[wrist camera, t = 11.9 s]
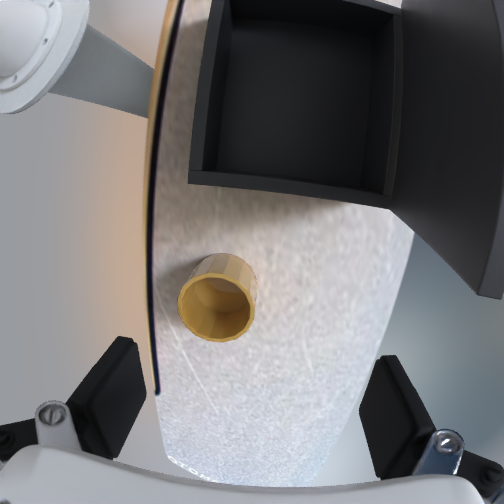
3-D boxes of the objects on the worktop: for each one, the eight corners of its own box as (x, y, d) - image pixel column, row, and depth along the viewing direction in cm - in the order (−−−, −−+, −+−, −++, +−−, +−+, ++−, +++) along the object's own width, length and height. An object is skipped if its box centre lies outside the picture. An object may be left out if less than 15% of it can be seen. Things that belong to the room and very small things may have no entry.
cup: (183, 297, 28) (168, 322, 24) (206, 242, 27) (193, 260, 22) (240, 322, 29) (235, 352, 24) (268, 270, 27) (268, 294, 22)
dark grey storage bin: (206, 178, 25) (187, 183, 19) (227, 14, 20) (216, -21, 14) (364, 198, 25) (392, 210, 19) (377, 36, 20) (403, 9, 14)
